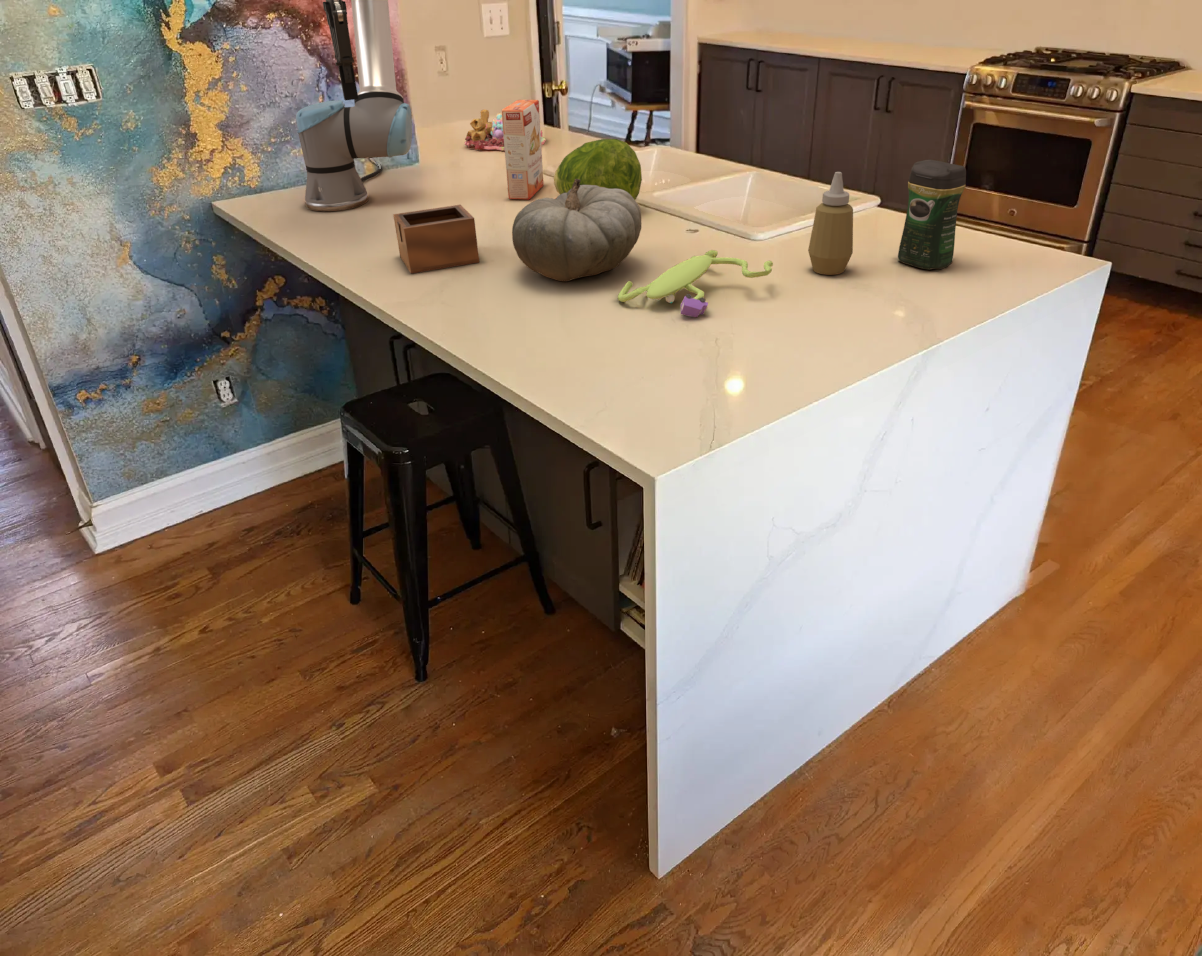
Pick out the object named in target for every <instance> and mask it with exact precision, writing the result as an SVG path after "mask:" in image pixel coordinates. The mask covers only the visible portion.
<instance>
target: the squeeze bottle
mask: <svg viewBox="0 0 1202 956" xmlns="http://www.w3.org/2000/svg"><path fill="white" fill-rule="evenodd" d="M821 201H822V203H820V204H819V205H818V206H816V208H815V214H814V218H813V223H812V229H811V235H810V239H809V244H808V249H807V251H808V256H809V259H810V264H811V267H812V271H813V272H814V273H817V274H820V275H825V276H826V275H827V276H835V275H840V274H842V273H844V272H845V270H846V268H847V266H848V264H849V262H850V261H851V258H852V255H853V254H854V253H853V251H854V250H853V249H854V207H853V206H852V205H851V204H849V202H850V193H849V192H848V191H845V189H844V182H843V173H842V172H841V171H835V172H834V174H833V177H832V181H831V184H830V186H829V190H826V191H824V192H822V199H821Z"/></svg>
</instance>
